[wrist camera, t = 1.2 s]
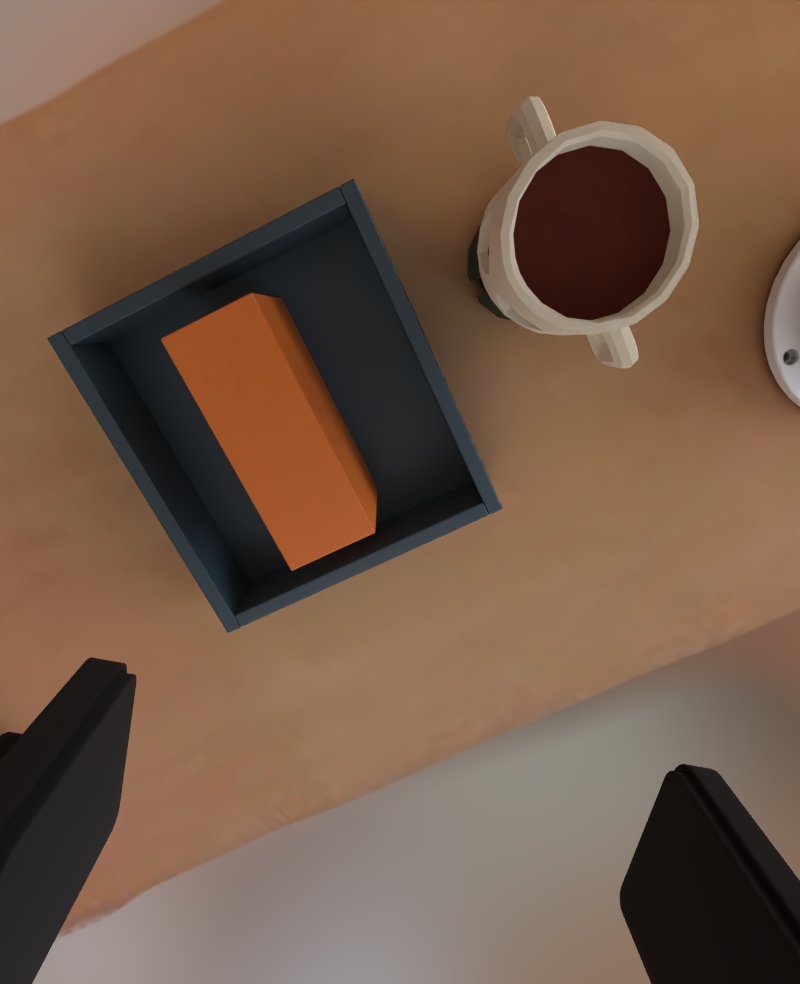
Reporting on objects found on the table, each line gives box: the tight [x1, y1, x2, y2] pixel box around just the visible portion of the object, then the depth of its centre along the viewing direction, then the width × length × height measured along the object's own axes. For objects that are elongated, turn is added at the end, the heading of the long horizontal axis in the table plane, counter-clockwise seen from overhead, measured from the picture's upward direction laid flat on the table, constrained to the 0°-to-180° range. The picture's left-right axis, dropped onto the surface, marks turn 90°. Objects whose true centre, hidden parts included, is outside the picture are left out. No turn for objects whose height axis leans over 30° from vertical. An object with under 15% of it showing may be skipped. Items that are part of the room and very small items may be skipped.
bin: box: [48, 179, 502, 633], centre depth 34 cm, size 17×18×5 cm
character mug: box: [468, 97, 699, 368], centre depth 28 cm, size 11×7×13 cm, turn 26°
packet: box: [161, 293, 378, 571], centre depth 32 cm, size 4×12×8 cm, turn 25°
